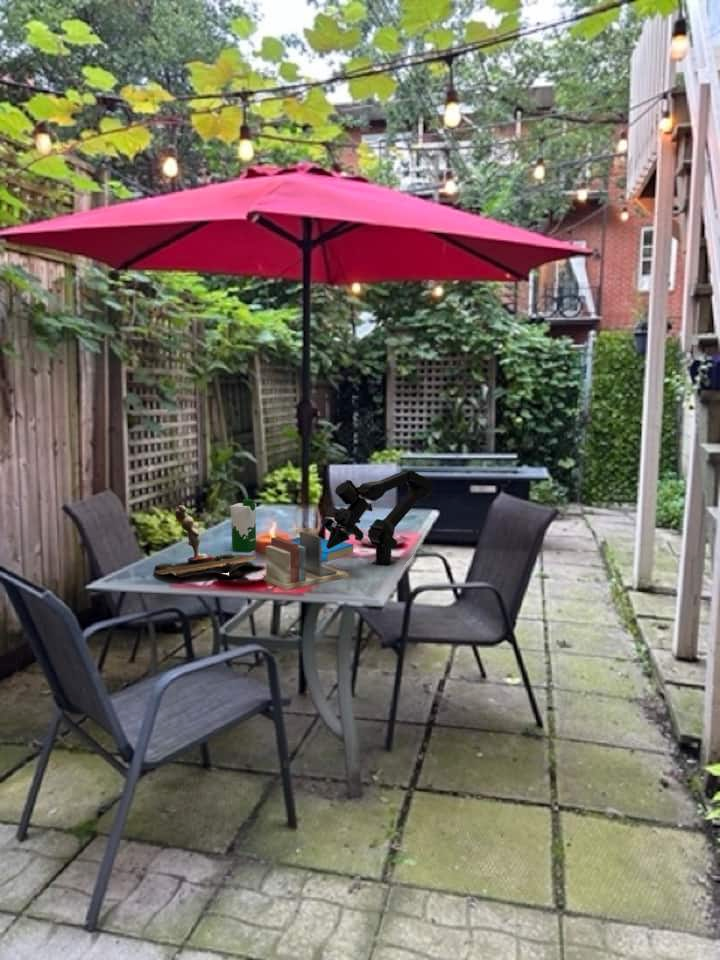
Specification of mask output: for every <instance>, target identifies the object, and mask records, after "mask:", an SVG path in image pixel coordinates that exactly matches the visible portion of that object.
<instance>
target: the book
mask: <svg viewBox="0 0 720 960" xmlns="http://www.w3.org/2000/svg"><path fill="white" fill-rule="evenodd" d="M288 540H289V541H292V542H295V543H298V545H300V536H299V537H295V538H292V539H288ZM328 540H329V539H326V538H321V556H322V562H330V561H332V560H335V559H339V558H342V557H345V556H348V555H351V554H354V543H350V542H346V541H344V542H342V543H340V544H338V545H336V546H334V547H332V548H330V549H328V548H327V547H326V546H327V543H328Z"/></svg>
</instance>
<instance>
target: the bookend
mask: <svg viewBox="0 0 720 960" xmlns="http://www.w3.org/2000/svg"><path fill="white" fill-rule="evenodd" d="M299 537H300V545H301V546H303V547H305V552H306V571H307V572H309V573H312V574H314V575H317V576H325V575H330V574H335V573H337V571H334V570H331V569H329V568H326V567H323V566H322V564H323V563H322V562H323V561H322V556H321V539H322V537H321V536H318V535H315V534H311V533H307V532H304V531H299Z"/></svg>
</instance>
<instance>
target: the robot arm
mask: <svg viewBox="0 0 720 960" xmlns="http://www.w3.org/2000/svg"><path fill="white" fill-rule="evenodd" d="M404 484H407V485H408V490H407V493H406V494H405V495H404V496H403V497H402V498H401V499H400V501H399V502H398V503H397V504H396V505H395V507H393V508H392V510H390V512H389V514H387V516H386V517H385V518H383V519H379V518H377V519H375V520H374V522H372V524H371V525H369V528H368V531H367V537H368V539H369V541H370V543H371V544H370V545H372V546H375V560H374V561H372V563H371V564H373V565H383V566H390V565H391V564H393V563H394V562H395V559H392V550H393V549H395V548H397V544H398V541H397V540H396V539H395V538H394V534H395V529H396V527H397V526H398V524H400V522H401V521H402V520H403V519H404V518H405V517H406V515H407V514H408V513H409V512H410V511H411V510H412V508H413V507H414V506H415V505H416V504H417V503H418V501H420V500H422V499H424V498H426V497H428V496H429V495H430V494H431V493H433V491H434V489H435V485H434V484H435V483H434V481H433V479H431V478H427V477H425V476H423V475H421V474H419V473H417V472H416V471H415V470H412V469H407V468H405V469H402V470H401V471H400V472H397V473H395V474H392V475H389V476H388V477H385V478H382V479H381V480H375V481H369V482H363V483H361V485H359V486H357V487H356V485H355V484H354V483H353V482H352V480H350V479H346V480H345V481H343V482H342V483H340V484H339V485H337V486H336V488H335V490H334V493H335V494H336V496H337V497H338V498H339V499H340V500H341V501H342V502H343V504H345V505H348V507H347V508H345V507H341V506H340V508H336V507H333V506H328V509H327V512H326V516H327V517H323V518H322V519H321V520H320V523H321V524H322V526H323V527H324V528H325V529H326V530H327V531H328V532H329V536H328V539H327V540H328V543H327V546H326V547H327V548H328V549H330V548H332V547H334V546H336V545H338V544H340V543H342V542H346V541H349V540H350V537H351V535H352V536H353V535H354V540H355V541H358V542H361V541H362V540H363V538H364V532H363V531H362V530H361V529H360V528H359V526H357V524H360V523H361V520H360V519H361V517H363V515H364V514H365V512H366V511H369V512H372V511H373V507H372V504H373V503H371V502H370V503H369V502H368V501H373V502H376V501H378V500H380V498H381V499H382V497H383V496H384V495H385V494H386V493H387V492H389V491H390V490H394V489H395V488H398V487H400V486H402V485H404ZM367 500H368V501H367Z"/></svg>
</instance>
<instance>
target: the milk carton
mask: <svg viewBox="0 0 720 960" xmlns="http://www.w3.org/2000/svg"><path fill="white" fill-rule="evenodd" d="M229 509H230V517H231V522H230V523H231V524H230V525H231V550H232V552H239V553H250V552H252V551H254V550H256V549H257V545H256V546H255V542H256V543H257V527H256V526H257V524H256V523H257V521H256V512H257V503H254V499H252V498H246V499H245V498H244V499H242V502H237V503H236V504H233V505H229Z"/></svg>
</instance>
